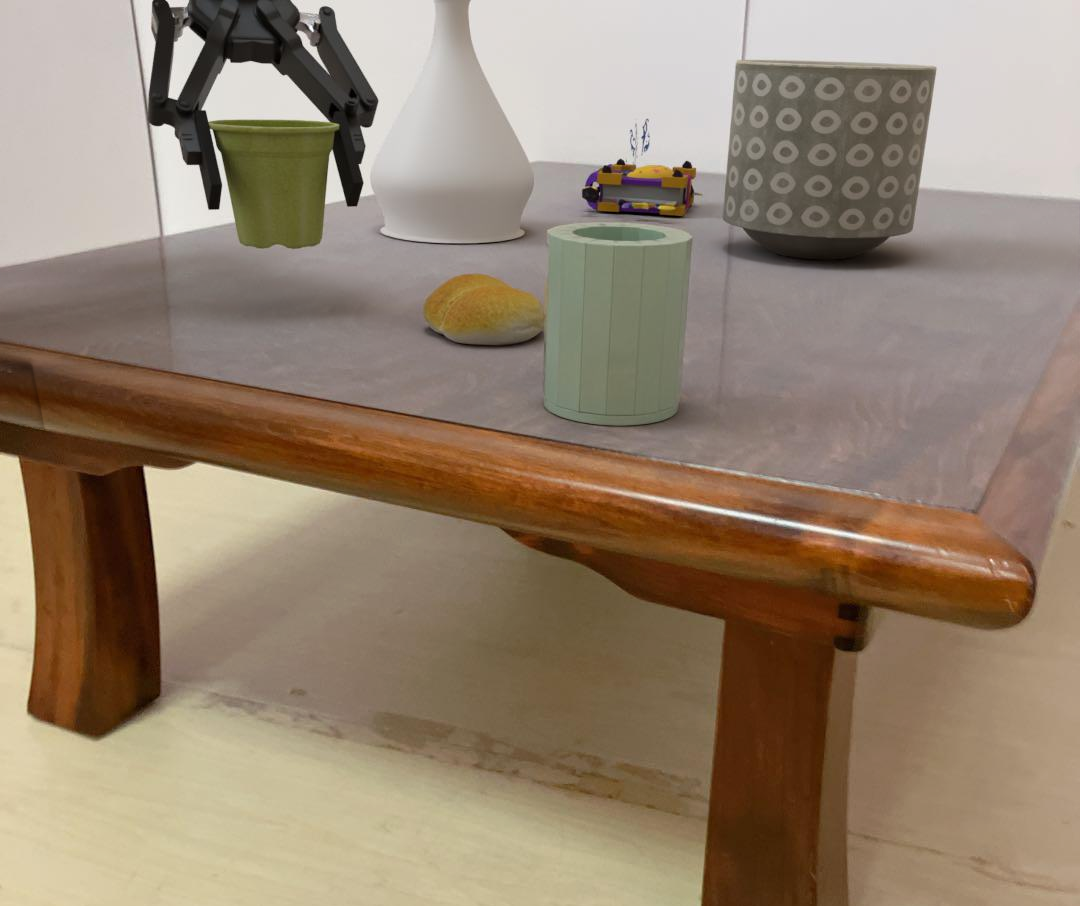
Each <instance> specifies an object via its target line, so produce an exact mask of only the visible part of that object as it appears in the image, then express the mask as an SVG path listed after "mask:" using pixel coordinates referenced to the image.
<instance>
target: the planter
mask: <svg viewBox="0 0 1080 906" xmlns="http://www.w3.org/2000/svg"><path fill="white" fill-rule="evenodd" d="M734 68H735V69H734V79H733V80H734V81H733V89H732V90H733V91H732V92H733V93H732V104H731V116H730V125H729V139H728V149H727V150H728V151H727V160H726V173H725V184H724V196H723V207H722V208H723V209H722V221H724V222H725V223H726V224H729V225H732V226H734V227H739V228H741V229H743V231H744V232H745V233H746V235H747V236H749V238H750V239H752V240H753V241H754V242H756V243H757V244H759V245H760V246H762V247H764V248H765V249H767V250H769V251H771V252H773V253H775V254H778V255H781V256H785V257H790V258H796V259H805V260H820V261H821V260H822V261H825V260H827V261H828V260H829V261H831V260H833V261H834V260H845V259H850V258H853V257H856V256H859V255H862V254H864V253H866V252H869V251H871V250H873V249H875V248H877V247H879V246H880V245H882V244H883V243H885V242H886V241H887V240H888V239H890V238H892V237H899V236H902V235H906V234H910V233H911V232H913V230H914V225H915V217H916V210H917V205H918V198H919V197H918V196H919V191H920V184H921V183H920V182H921V178H922V177H921V176H922V170H923V163H924V158H925V157H924V156H925V149H926V144H927V137H928V130H929V122H930V116H931V111H932V103H933V96H934V91H935V82H936V77H937V69H938V68H937V66H935V65H923V64H907V63H906V64H905V63H886V62H885V63H884V62H883V63H882V62H881V63H880V62H856V61H827V60H821V61H820V60H793V59H792V60H790V59H737V60H736V61H735V66H734Z"/></svg>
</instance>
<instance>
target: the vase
mask: <svg viewBox="0 0 1080 906" xmlns="http://www.w3.org/2000/svg"><path fill="white" fill-rule="evenodd" d="M471 1H472V0H433V3H434V9H435V13H434V14H435V17H434V25H433V33H432V38H431V43H430V47H429V50H428V53H427V54H426V55H427V56H426V58H425V60H424V63H423V65H422V66H421V68H420V69H421V70H420V72H419V74H418V76H417V77H416V80H415V81H414V84H413V86H412V87H411V89H410V91H409V93H408V95H407V97H406V99H405V100H404V103H403V104H402V106H401V108H400V109H399V112H398V113H397V115H396V117H395V119H394V121H393V123H392V124H391V126H390V128H389V130H388V131H387V134H386V135H385V137H384V139H383V141H382V143H381V145H380V147H379V148H378V151H377V153H376V155H375V158H374V160H373V163H372V165H371V168H370V173H369V181H370V186H371V189H372V193H373V195H374V196H375V199H376V200H377V202H378V204H379V207H380V209H381V210H382V214H383V219H384V226H382V227H381V228H380V229H379V232H380V233H381V234H383V235H384V236H387V237H390V238H394V239H399V240H405V241H412V242H420V243H433V244H434V243H435V244H436V243H437V244H481V243H482V244H483V243H495V242H497V243H498V242H505V241H510V240H514V239H518V238H521V237H522V236H524V235H525V231H524V230H523V229H522V228H521V220H522V215H523V213H524V210H525V207H526V205H527V204H528V201H529V199H530V197H531V195H532V193H533V190H534V185H535V177H534V176H535V175H534V172H533V168H532V165H531V163H530V160H529V158H528V156H527V154H526V152H525V149H524V147H523V146H522V143H521V142H520V140H519V138H518V135H517V134H516V132H515V130H514V129H513V127H512V125H511V123H510V121H509V119H508V118H507V115H506V114H505V112H504V110H503V108H502V105H501V104H500V103H499V101H498V98H497V97H496V95H495V93H494V91H493V89H492V87H491V85H490V82H489V81H488V79H487V77H486V75H485V73H484V71H483V69H482V66H481V64H480V62H479V59H478V57H477V54H476V52H475V48H474V44H473V41H472V35H471V28H470V19H469V16H470V15H469V9H470V8H469V7H470V3H471Z"/></svg>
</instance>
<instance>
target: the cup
mask: <svg viewBox="0 0 1080 906" xmlns="http://www.w3.org/2000/svg"><path fill="white" fill-rule="evenodd" d="M692 249H693V236H692V235H691V234H690V233H688V232H687V231H684V230H681V229H679V228H674V227H669V226H662V225H657V224H656V225H655V224H648V223H647V224H646V223H633V222H605V221H598V222H597V221H595V222H594V221H593V222H574V223H568V224H561V225H555V226H553V227H551V228H549V229H547V230H546V255H545V256H546V257H545V258H546V259H545V260H546V262H545V295H544V315H545V319H544V327H543V364H542V365H543V367H542V368H543V369H542V394H543V399H542V402H543V406H544V408H545V409H546V410H548V412H550V413H552V414H553V415H555V416H557V417H561V418H563V419H566V420H570V421H574V422H578V423H584V424H590V425H600V426H620V427H621V426H623V427H624V426H626V427H627V426H640V425H641V426H642V425H648V424H649V425H650V424H654V423H658V422H662V421H665V420H668V419H670V418H672V417H673V416H675V415H676V414H677V412H678V411H679V405H680V400H681V395H682V381H683V380H682V379H683V370H684V369H683V368H684V357H685V356H684V354H685V342H686V341H685V340H686V328H687V317H688V315H687V314H688V304H689V303H688V301H689V290H690V289H689V288H690V275H691V262H692V251H693V250H692Z"/></svg>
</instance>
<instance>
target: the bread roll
mask: <svg viewBox="0 0 1080 906" xmlns="http://www.w3.org/2000/svg"><path fill="white" fill-rule="evenodd" d="M422 310H423V311H422V312H423V316H424V319H425V321H426V323H427V325H428V327H429V328H430V329H431V330H433V331H434V332H435V333H438V334H440V335H444V337H445V338H446V339H448V340H451V341H453V342H454V343H458V344H467V345H477V346H478V345H480V346H482V345H483V346H505V345H506V346H507V345H516V344H519V343H524V342H527V341H529V340H531V339H532V338H535V337H536V336H537V335H539V334H540V333H541V331H544V326H545V310H544V308H543V305H542V303H541V302H540V300H539V298H538V297H537V296H536V295H534V294H532V293H529V292H527V291H524V290H522V289H518V288H515V287H512V286H511V285H510V284H508V283H507V282H505V281H502V280H501V279H499V278H496V277H493V276H490V275H487V274H483V273H465V274H460V275H456V276H454V277H451V278H449V279H448V280H446V281H445V282H443V283H441V284H440V285H439V286H438V287H437V288H436V289H434V290H433V291H432V292H431V293H430V294H429V296H428V297H427V298H426V300H425V301H424V305H423V309H422Z"/></svg>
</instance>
